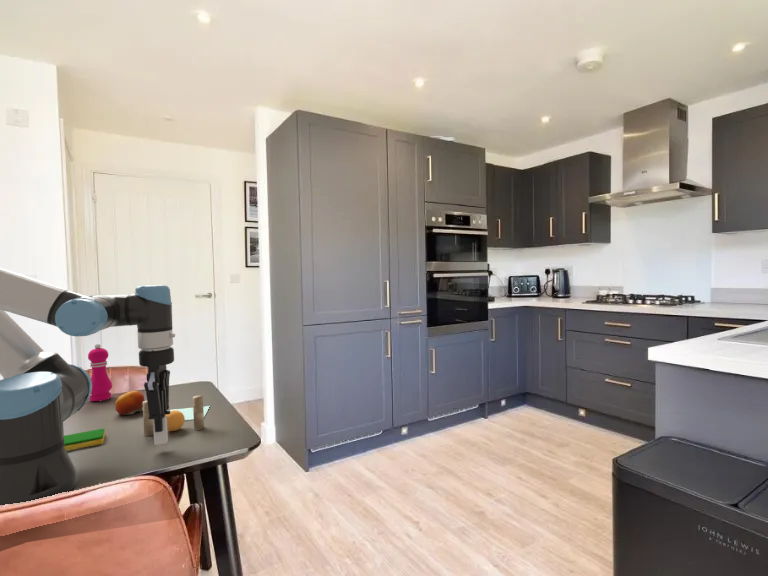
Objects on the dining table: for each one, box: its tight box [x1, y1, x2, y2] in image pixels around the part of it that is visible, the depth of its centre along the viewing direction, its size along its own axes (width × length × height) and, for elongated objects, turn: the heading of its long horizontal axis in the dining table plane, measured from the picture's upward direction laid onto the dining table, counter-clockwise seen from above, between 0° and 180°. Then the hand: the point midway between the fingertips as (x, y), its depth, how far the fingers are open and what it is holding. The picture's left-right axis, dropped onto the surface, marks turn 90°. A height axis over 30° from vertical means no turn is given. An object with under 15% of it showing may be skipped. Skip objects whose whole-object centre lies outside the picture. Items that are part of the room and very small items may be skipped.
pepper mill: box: [87, 343, 113, 402], centre depth 146 cm, size 7×7×20 cm
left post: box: [142, 400, 154, 437], centre depth 112 cm, size 3×3×9 cm
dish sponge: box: [64, 428, 106, 452], centre depth 106 cm, size 7×14×2 cm, turn 122°
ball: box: [167, 409, 186, 432], centre depth 114 cm, size 6×6×6 cm
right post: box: [192, 394, 205, 431], centre depth 115 cm, size 3×3×9 cm
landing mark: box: [169, 405, 211, 422], centre depth 128 cm, size 12×12×1 cm
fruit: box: [114, 390, 145, 416], centre depth 131 cm, size 8×8×8 cm
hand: (161, 442), depth 101 cm, fingers closed
